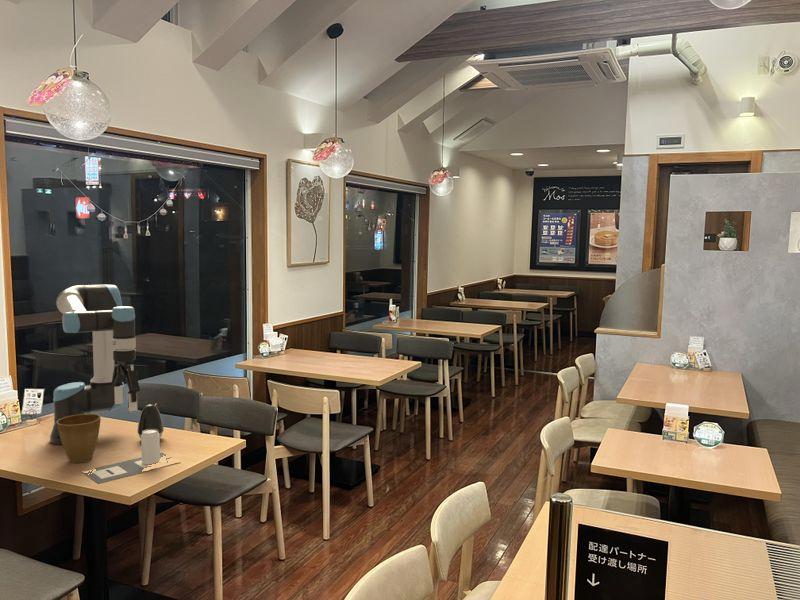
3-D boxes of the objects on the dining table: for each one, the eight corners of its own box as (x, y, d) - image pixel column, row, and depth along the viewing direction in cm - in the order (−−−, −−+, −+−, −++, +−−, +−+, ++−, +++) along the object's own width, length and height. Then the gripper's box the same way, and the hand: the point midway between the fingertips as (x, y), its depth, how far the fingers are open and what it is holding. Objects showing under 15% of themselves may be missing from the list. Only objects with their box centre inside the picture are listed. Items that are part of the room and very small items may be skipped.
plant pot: (85, 451, 246) (84, 411, 245) (110, 457, 240) (109, 417, 238) (49, 462, 233) (47, 420, 232) (74, 469, 226) (73, 426, 225)
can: (153, 465, 231) (152, 434, 230) (137, 464, 232) (137, 432, 231) (163, 459, 237) (162, 429, 236) (148, 458, 238) (147, 427, 237)
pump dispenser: (168, 436, 266) (168, 402, 265) (155, 444, 256) (154, 408, 255) (146, 435, 268) (146, 400, 267) (132, 442, 258) (131, 406, 256)
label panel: (81, 471, 225) (81, 471, 224) (161, 452, 246) (161, 452, 246) (98, 483, 213) (98, 483, 213) (180, 462, 235) (180, 462, 235)
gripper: (101, 346, 231) (102, 402, 233) (126, 355, 213) (128, 415, 215) (122, 344, 236) (123, 399, 238) (148, 352, 218) (150, 411, 220)
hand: (125, 407), depth 226 cm, fingers open, 13 cm apart
